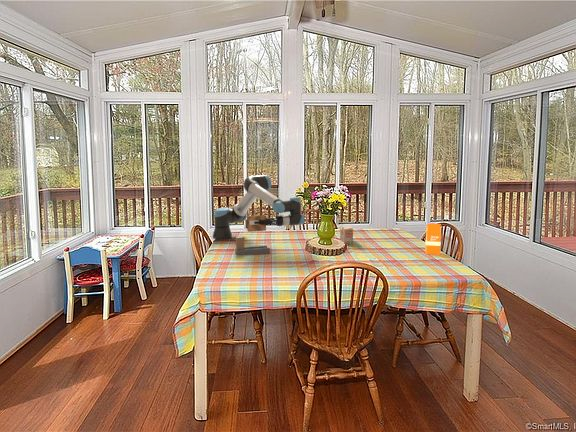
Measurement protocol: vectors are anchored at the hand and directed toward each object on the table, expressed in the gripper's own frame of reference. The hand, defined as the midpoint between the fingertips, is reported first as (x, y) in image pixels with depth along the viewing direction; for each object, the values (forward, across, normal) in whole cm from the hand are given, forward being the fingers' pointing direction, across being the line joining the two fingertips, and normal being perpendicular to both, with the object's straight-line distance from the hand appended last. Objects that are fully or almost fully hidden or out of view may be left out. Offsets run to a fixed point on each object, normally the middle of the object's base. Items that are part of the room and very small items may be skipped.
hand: (248, 222), depth 304 cm
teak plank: (-5, 0, -6) cm, 8 cm away
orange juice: (-117, -39, -22) cm, 125 cm away
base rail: (-2, 0, -21) cm, 21 cm away
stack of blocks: (-76, +11, -22) cm, 80 cm away
